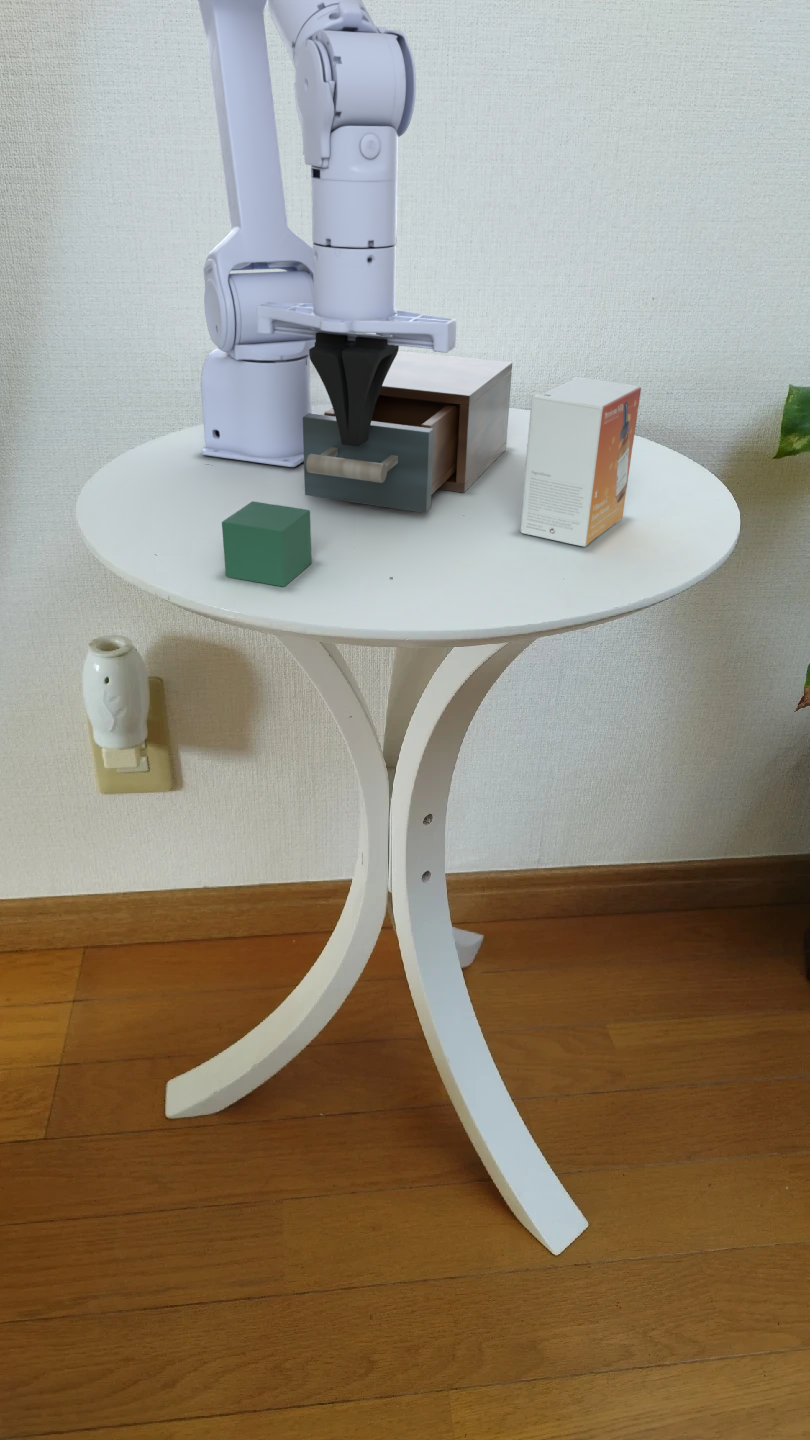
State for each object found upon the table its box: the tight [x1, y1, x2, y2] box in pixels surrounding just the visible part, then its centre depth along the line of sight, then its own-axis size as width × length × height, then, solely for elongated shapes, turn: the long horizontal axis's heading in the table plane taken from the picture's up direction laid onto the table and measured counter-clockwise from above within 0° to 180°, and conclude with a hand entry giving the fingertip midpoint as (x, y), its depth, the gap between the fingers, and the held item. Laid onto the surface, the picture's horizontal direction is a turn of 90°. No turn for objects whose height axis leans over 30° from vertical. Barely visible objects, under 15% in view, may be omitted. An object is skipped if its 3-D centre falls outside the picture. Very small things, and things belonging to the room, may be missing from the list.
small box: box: [519, 376, 642, 548], centre depth 77 cm, size 8×6×10 cm
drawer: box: [303, 395, 460, 514], centre depth 82 cm, size 17×10×6 cm, turn 160°
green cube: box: [221, 501, 312, 587], centre depth 70 cm, size 4×4×4 cm
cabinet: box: [379, 350, 513, 493], centre depth 91 cm, size 14×12×8 cm
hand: (354, 442), depth 76 cm, fingers closed
